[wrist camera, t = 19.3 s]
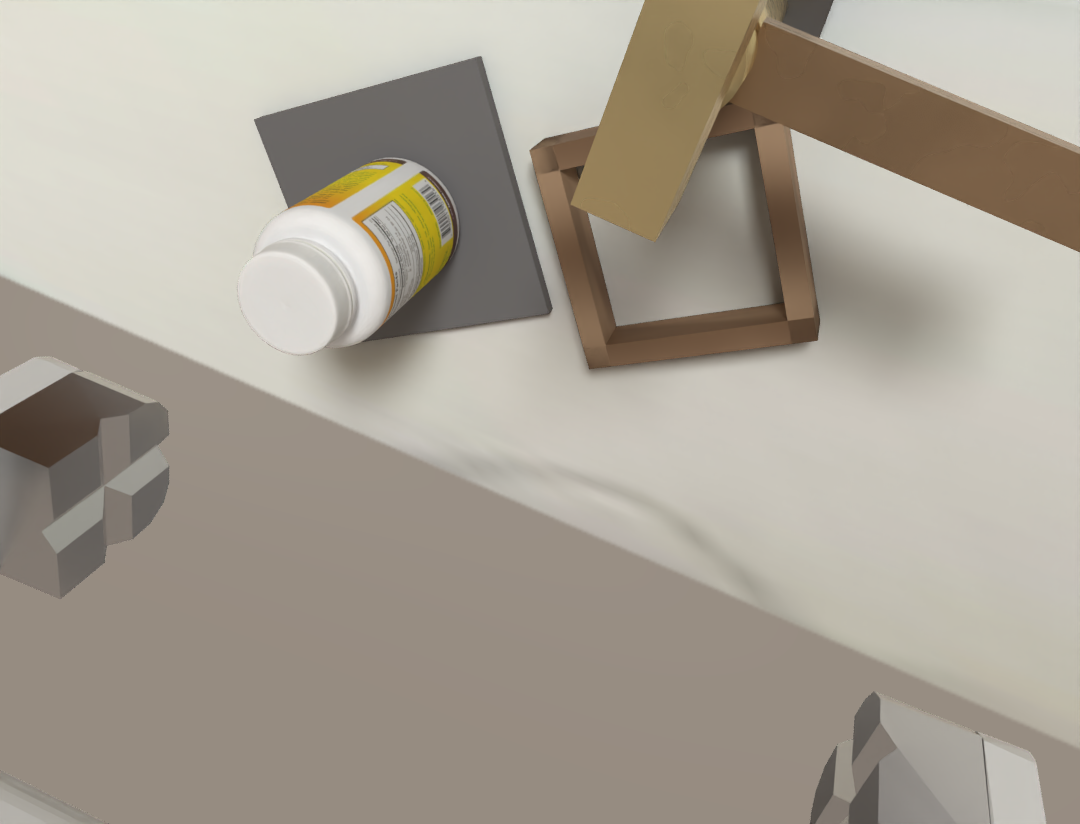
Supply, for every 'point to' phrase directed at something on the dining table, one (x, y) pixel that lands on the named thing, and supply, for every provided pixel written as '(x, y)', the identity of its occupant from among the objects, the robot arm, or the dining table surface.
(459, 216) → the rubber mat
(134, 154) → the dining table surface
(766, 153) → the cup collar
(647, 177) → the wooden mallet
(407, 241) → the supplement bottle
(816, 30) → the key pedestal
